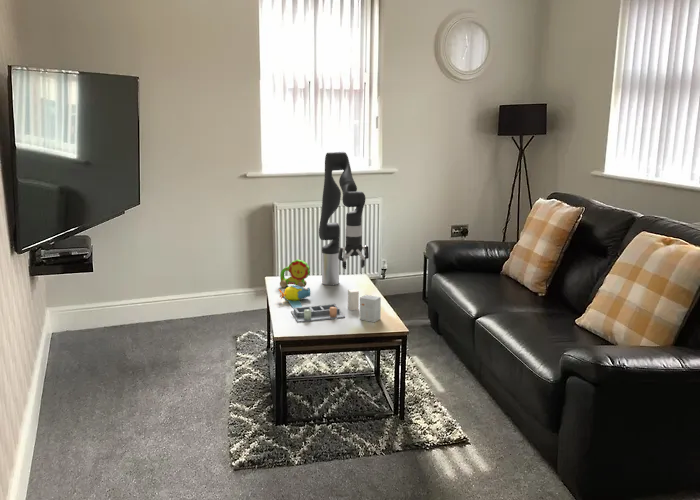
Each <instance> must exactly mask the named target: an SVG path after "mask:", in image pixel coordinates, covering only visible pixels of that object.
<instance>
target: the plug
mask: <svg viewBox="0 0 700 500" xmlns="http://www.w3.org/2000/svg"><path fill="white" fill-rule="evenodd" d="M359 295H360V294H359V290H358V289H356V288H355V289H348V290H347V309H349V311H360V297H359Z"/></svg>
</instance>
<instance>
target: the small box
mask: <svg viewBox="0 0 700 500" xmlns="http://www.w3.org/2000/svg"><path fill="white" fill-rule="evenodd" d="M381 298H382V297H381V296H377V295H370V294H365V295H363V296H361V297H359V320H362V321H365V322H366V321H368V322H372V323H376V322H378V321H380V319H381V315H382V314H381V313H382V312H381V309H382V308H381V307H382V306H381V300H382V299H381Z"/></svg>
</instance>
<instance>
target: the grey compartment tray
mask: <svg viewBox="0 0 700 500" xmlns="http://www.w3.org/2000/svg"><path fill="white" fill-rule="evenodd" d="M290 313H291V315H292V316H293V318H294V319H295V320H296V322H297V324H298V323H305V322H307V323H308V321H309V322H318V321H325V320H337V319H345V318H346V317H345V314H343V312H341V311H340V308H339V307H338V305H337V304H336V303H330V304H320V305H309V306H307V305H306V306H302V307H296V308H294V309H293V310H291V311H290Z"/></svg>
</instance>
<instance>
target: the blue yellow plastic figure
mask: <svg viewBox="0 0 700 500" xmlns="http://www.w3.org/2000/svg"><path fill="white" fill-rule="evenodd" d="M289 285H290V286H288V287H287V286H286V288H285V289H284V292H283V291H282V290H281V289H278V291H279V298H280V300H281V299H283V298H284V299H285V300H286V301H287V302H288V303H289V305H290V306H291V307H292V308H293V310H294V308H296V307H303V306H302V302H301V301H300V300H303V299H305V298H308V297H311V288H310V287H307V286H305V287H304V286H301V287H300V286H298V285H294V284H289Z"/></svg>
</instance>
